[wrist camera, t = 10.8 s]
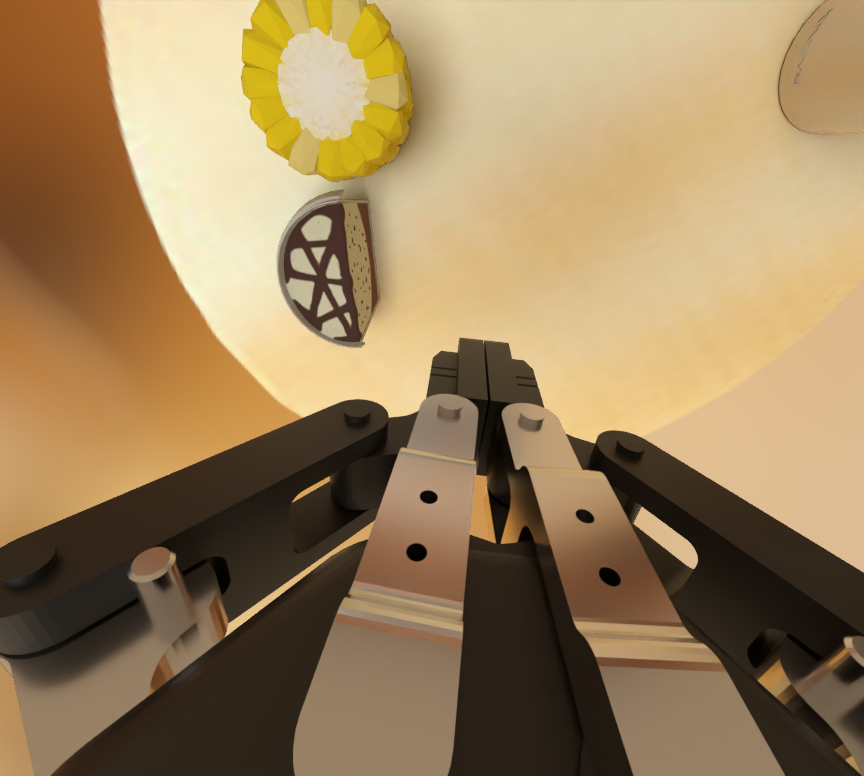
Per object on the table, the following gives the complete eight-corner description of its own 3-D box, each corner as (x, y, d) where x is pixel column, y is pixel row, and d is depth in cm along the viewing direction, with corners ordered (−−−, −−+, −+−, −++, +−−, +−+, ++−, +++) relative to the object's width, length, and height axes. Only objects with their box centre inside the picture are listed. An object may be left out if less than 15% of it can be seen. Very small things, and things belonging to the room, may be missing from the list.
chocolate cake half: (300, 185, 37) (250, 195, 29) (367, 182, 37) (335, 191, 28) (324, 313, 43) (288, 354, 35) (381, 313, 43) (359, 354, 34)
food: (302, 47, 33) (424, 55, 33) (306, 203, 37) (417, 210, 37) (196, -118, 19) (414, -103, 19) (220, 165, 22) (403, 178, 22)
